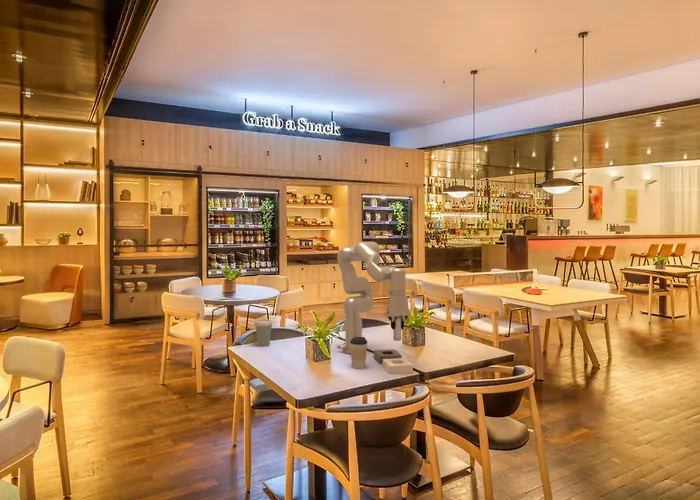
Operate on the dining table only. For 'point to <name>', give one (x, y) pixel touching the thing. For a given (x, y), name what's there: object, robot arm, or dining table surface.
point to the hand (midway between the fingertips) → (397, 328)
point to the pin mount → (385, 355)
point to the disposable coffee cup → (263, 331)
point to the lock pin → (397, 328)
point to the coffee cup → (358, 352)
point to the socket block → (397, 366)
